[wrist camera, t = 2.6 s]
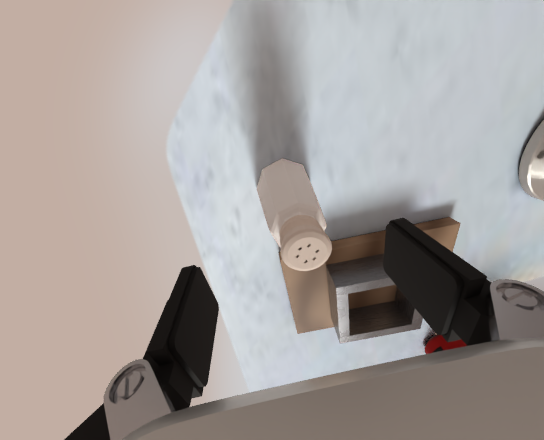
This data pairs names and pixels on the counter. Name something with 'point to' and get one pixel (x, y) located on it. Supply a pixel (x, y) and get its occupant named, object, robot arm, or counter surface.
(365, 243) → the walnut board
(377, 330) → the metal socket
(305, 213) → the salt shaker
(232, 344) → the counter surface
